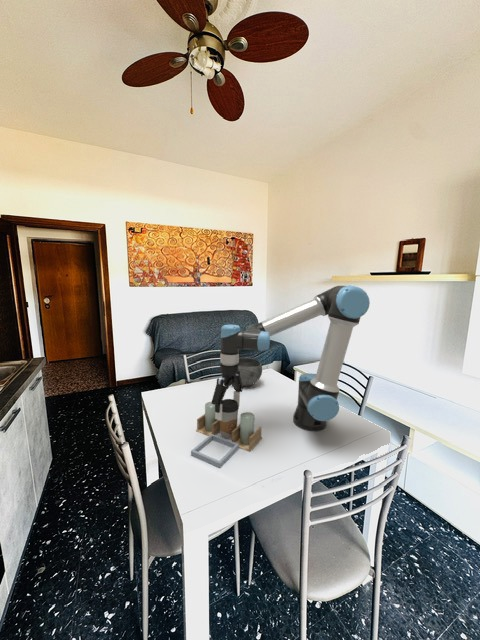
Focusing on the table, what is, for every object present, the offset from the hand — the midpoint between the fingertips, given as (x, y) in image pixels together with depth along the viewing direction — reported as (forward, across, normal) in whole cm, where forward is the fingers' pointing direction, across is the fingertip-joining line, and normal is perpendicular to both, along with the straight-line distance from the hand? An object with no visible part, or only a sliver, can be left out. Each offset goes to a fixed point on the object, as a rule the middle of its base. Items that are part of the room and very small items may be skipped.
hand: (227, 412), depth 110 cm
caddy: (+11, 0, 0) cm, 11 cm away
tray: (+11, +12, +2) cm, 16 cm away
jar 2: (+10, 0, +9) cm, 13 cm away
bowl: (+11, -54, -22) cm, 59 cm away
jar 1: (+10, 0, -8) cm, 13 cm away
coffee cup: (+11, 0, 0) cm, 11 cm away
